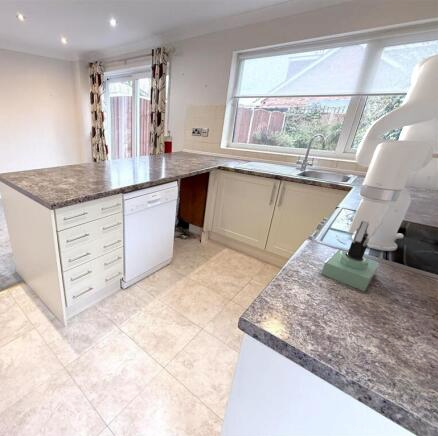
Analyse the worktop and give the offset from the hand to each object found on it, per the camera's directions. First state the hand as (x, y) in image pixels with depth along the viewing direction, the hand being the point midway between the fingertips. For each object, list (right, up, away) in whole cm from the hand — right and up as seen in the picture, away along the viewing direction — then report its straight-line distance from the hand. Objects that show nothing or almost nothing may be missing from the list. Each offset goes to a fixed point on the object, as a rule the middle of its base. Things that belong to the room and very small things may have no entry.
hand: (354, 255), depth 69 cm
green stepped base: (0, -6, +3) cm, 6 cm away
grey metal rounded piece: (0, -2, +1) cm, 2 cm away
